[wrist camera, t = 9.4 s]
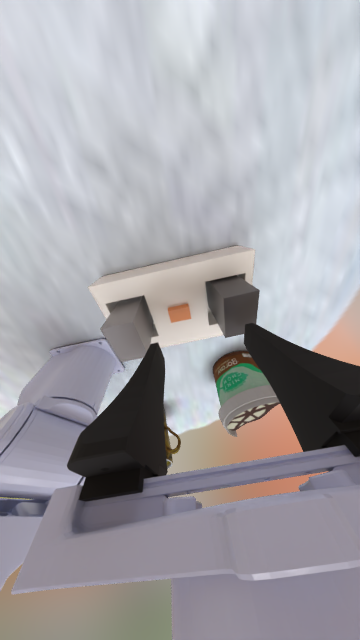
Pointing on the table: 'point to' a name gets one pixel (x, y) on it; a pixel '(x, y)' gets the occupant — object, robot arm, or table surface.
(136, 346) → the charcoal plug
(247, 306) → the dark grey square prism
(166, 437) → the ceramic cup
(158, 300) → the power strip
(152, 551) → the robot arm
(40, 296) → the table surface
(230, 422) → the food container
